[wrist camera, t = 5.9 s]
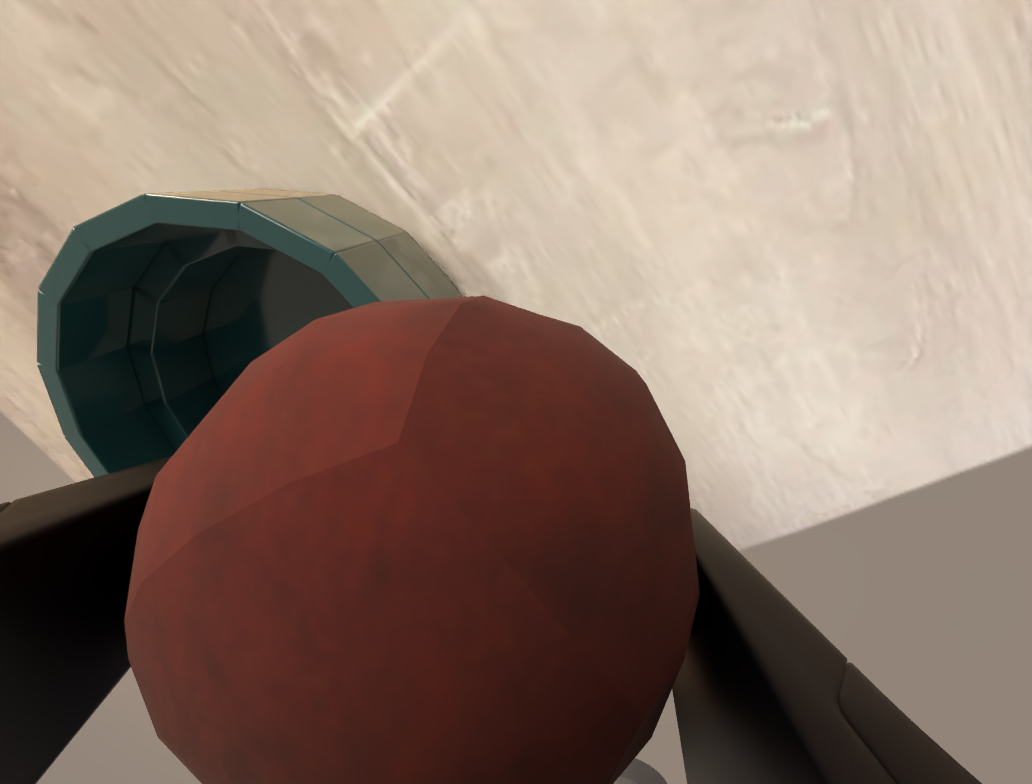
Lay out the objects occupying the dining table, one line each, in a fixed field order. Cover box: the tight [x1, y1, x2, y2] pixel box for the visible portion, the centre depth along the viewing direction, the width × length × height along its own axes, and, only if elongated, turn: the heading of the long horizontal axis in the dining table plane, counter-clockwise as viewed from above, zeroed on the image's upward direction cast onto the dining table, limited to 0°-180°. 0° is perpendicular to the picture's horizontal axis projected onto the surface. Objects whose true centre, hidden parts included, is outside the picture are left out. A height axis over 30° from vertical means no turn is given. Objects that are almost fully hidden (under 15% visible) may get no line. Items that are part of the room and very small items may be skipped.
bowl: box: [37, 189, 461, 477], centre depth 19 cm, size 15×15×6 cm
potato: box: [124, 296, 700, 784], centre depth 7 cm, size 7×8×7 cm
